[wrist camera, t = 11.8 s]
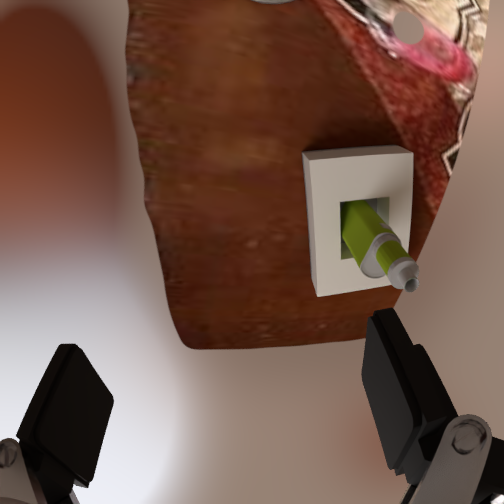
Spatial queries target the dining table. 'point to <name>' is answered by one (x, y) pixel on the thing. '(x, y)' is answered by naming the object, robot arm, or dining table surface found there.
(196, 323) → the dining table surface
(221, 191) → the dining table surface
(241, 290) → the dining table surface
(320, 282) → the charging dock
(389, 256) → the vape
